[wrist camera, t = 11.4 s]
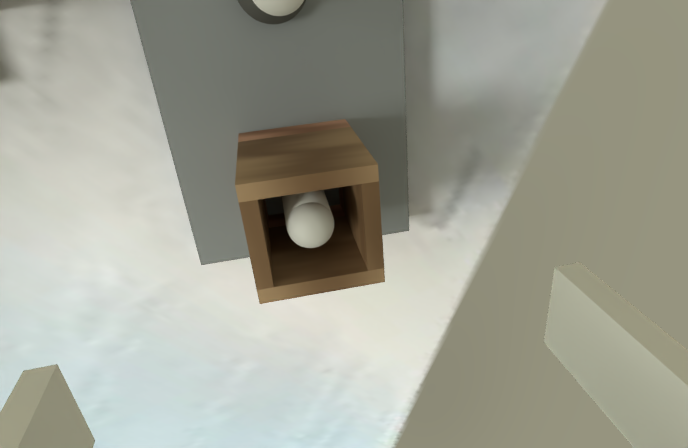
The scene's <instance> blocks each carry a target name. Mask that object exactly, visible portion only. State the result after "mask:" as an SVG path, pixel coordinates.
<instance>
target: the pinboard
mask: <svg viewBox="0 0 688 448" xmlns="http://www.w3.org/2000/svg"><path fill="white" fill-rule="evenodd" d="M130 1H131V4H132V8H133V12H134V16H135V19H136V23H137V27H138V30H139V34H140V38H141V42H142V45H143V49H144V53H145V57H146V60H147V64H148V68H149V72H150V75H151V79H152V83H153V86H154V90H155V94H156V98H157V101H158V105H159V109H160V113H161V116H162V120H163V124H164V127H165V131H166V135H167V139H168V142H169V146H170V150H171V154H172V157H173V161H174V165H175V169H176V172H177V176H178V180H179V183H180V187H181V191H182V195H183V198H184V202H185V206H186V210H187V213H188V217H189V221H190V224H191V228H192V232H193V236H194V239H195V243H196V247H197V251H198V254H199V258H200V262H201V265H205V264H211V263H217V262H223V261H229V260H235V259H241V258H247V257H250V255H249V250H248V245H247V240H246V236H245V231H244V226H243V221H242V217H241V212H240V207H239V202H238V197H237V193H236V188H235V178H236V164H237V149H238V135H239V133H245V132H252V131H260V130H267V129H275V128H282V127H289V126H297V125H304V124H312V123H319V122H326V121H334V120H341V119H346V121H347V122H348V124H349V125H350V126H351V128H352V129H353V130H354V132H355V133H356V135H357V136H358V137H359V139H360V140H361V141H362V143H363V144H364V146H365V147H366V148H367V150H368V151H369V153H370V154H371V155H372V157H373V158H374V159H375V161H376V162H377V164H378V173H379V190H380V207H381V225H382V235H386V234H392V233H398V232H404V231H409V212H408V176H407V140H406V104H405V68H404V32H403V0H130ZM265 202H266V207H267V213H268V215H274V214H281V213H284V215H285V221H286V228H287V232H288V234H289V236H290V238H291V239H292V240H293V241H294V242H295V243H296V244H297V245H299V246H301V247H305V248H316V247H319V246H321V245H323V244H324V243H326V242H327V241H328V240H329V239H330V237H331V235H332V233H333V230H334V218H333V215H332V212H331V210H330V207H329V206H332V205H338V204H340V198H339V188H331V189H325V190H318V191H312V192H305V193H299V194H292V195H285V196H279V197H272V198H266V199H265Z"/></svg>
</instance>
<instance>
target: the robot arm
mask: <svg viewBox="0 0 688 448" xmlns="http://www.w3.org/2000/svg"><path fill="white" fill-rule="evenodd" d="M544 343H545V344H546V346H547V347H548V348H549V349H550V350H551V351H552V353H553V354H554V355H555V356H556V357H557V358H558V360H559V361H560V362H561V363H562V364H563V365H564V366H565V368H566V369H567V370H568V371H569V372H570V374H571V375H572V376H573V377H574V378H575V380H576V381H577V382H578V383H579V384H580V385H581V386H582V388H583V389H584V390H585V391H586V392H587V394H588V395H589V396H590V397H591V398H592V399H593V401H594V402H595V403H596V404H597V405H598V406H599V408H600V409H601V410H602V411H603V412H604V413H605V415H606V416H607V417H608V418H609V419H610V421H611V422H612V423H613V424H614V425H615V426H616V428H617V429H618V430H619V431H620V432H621V433H622V435H623V436H624V437H625V438H626V439H627V440H628V442H629V443H630V444H631V445H632V446H633V447H634V448H688V350H687V349H686V348H685V347H683V346H682V345H681V344H680V343H678V342H677V341H676V340H675V339H673V338H672V337H671V336H670V335H669V334H667V333H666V332H665V331H664V330H662V329H661V328H660V327H659V326H658V325H656V324H655V323H654V322H653V321H651V320H650V319H649V318H648V317H646V316H645V315H644V314H643V313H642V312H640V311H639V310H638V309H637V308H635V307H634V306H633V305H632V304H630V303H629V302H628V301H627V300H626V299H624V298H623V297H622V296H621V295H619V294H618V293H617V292H616V291H614V290H613V289H612V288H611V287H610V286H608V285H607V284H606V283H605V282H603V281H602V280H601V279H600V278H599V277H597V276H596V275H595V274H594V273H592V272H591V271H590V270H589V269H587V268H586V267H585V266H584V265H583V264H581V263H580V262H578V263H573V264H567V265H562V266H557V267H555V269H554V275H553V282H552V289H551V296H550V303H549V311H548V317H547V324H546V331H545V338H544ZM94 442H95V439H94V437H93V435H92V433H91V431H90V429H89V427H88V425H87V423H86V421H85V419H84V417H83V415H82V413H81V411H80V409H79V407H78V405H77V403H76V401H75V399H74V397H73V395H72V393H71V391H70V389H69V387H68V385H67V383H66V381H65V379H64V377H63V375H62V373H61V371H60V369H59V367H58V365H57V364H56V365H51V366H46V367H41V368H36V369H31V370H26V371H23V373H22V374H21V376H20V378H19V380H18V382H17V383H16V385H15V387H14V389H13V391H12V393H11V394H10V396H9V398H8V400H7V402H6V403H5V405H4V407H3V409H2V411H1V412H0V448H93V445H94Z"/></svg>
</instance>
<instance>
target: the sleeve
mask: <svg viewBox="0 0 688 448" xmlns="http://www.w3.org/2000/svg"><path fill="white" fill-rule="evenodd" d="M235 188H236V193H237V197H238V202H239V207H240V212H241V217H242V221H243V226H244V231H245V236H246V240H247V245H248V250H249V255H250V259H251V264H252V269H253V274H254V278H255V283H256V288H257V293H258V297H259V302H260V304H262V303H268V302H274V301H279V300H285V299H291V298H296V297H302V296H307V295H313V294H319V293H324V292H330V291H336V290H341V289H347V288H352V287H358V286H364V285H369V284H375V283H381V282H385V276H384V259H383V242H382V225H381V207H380V190H379V173H378V164H377V162H376V161H375V159H374V158H373V157H372V155H371V154H370V153H369V151H368V150H367V148H366V147H365V146H364V144H363V143H362V141H361V140H360V139H359V137H358V136H357V135H356V133H355V132H354V130H353V129H352V128H351V126H350V125H349V124H348V122H347V121H346V119H341V120H334V121H326V122H319V123H312V124H304V125H297V126H289V127H282V128H275V129H267V130H260V131H252V132H245V133H239V135H238V149H237V164H236V178H235ZM331 188H339V198H340V204H338V205H332V206H329V207H330V210H331V212H332V215H333V218H334V230H333V233H332V235H331V237H330V239H329V240H328V241H327V242H326V243H324V244H323V245H321V246H319V247H316V248H305V247H301V246H299V245H297V244H296V243H295V242H294V241H293V240H292V239H291V238H290V236H289V234H288V232H287V228H286V221H285V215H284V213H281V214H274V215H268V213H267V207H266V202H265V199H266V198H272V197H279V196H285V195H292V194H299V193H305V192H312V191H318V190H325V189H331Z"/></svg>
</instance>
